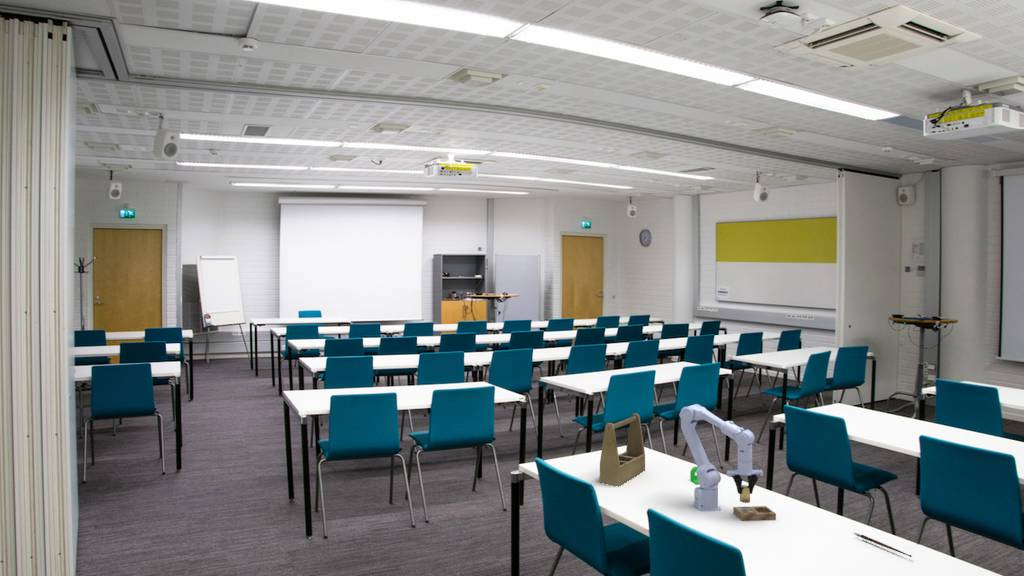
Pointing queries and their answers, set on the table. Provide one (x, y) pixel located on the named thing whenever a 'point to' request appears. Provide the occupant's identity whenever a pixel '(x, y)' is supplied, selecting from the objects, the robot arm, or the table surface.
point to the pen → (879, 543)
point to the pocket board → (754, 513)
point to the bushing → (745, 494)
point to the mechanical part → (693, 477)
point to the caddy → (627, 463)
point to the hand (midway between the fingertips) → (744, 493)
